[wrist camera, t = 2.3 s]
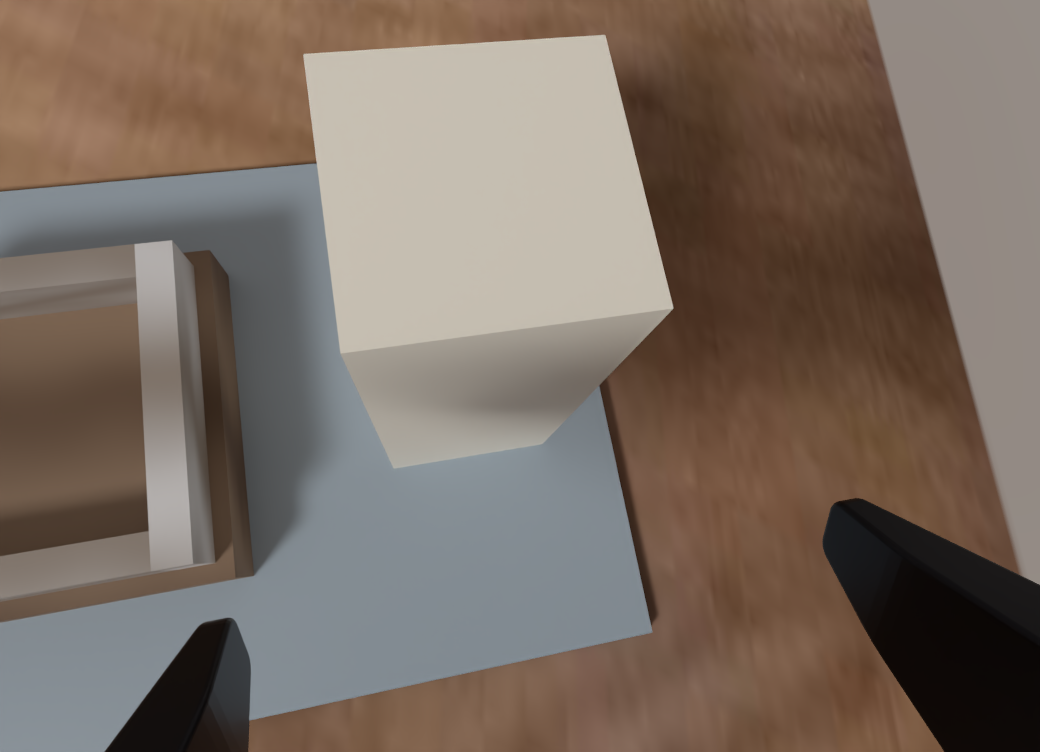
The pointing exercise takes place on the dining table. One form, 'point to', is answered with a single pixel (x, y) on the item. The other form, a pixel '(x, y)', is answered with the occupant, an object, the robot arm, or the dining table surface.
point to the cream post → (481, 237)
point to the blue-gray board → (322, 499)
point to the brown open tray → (117, 428)
